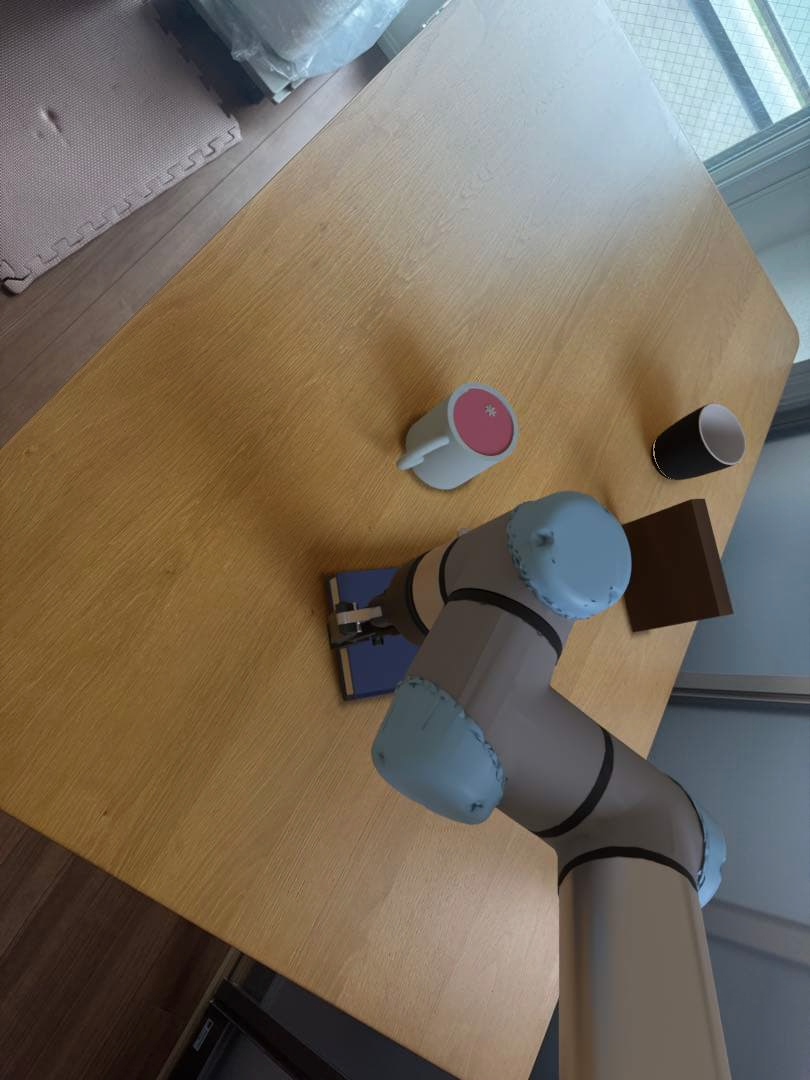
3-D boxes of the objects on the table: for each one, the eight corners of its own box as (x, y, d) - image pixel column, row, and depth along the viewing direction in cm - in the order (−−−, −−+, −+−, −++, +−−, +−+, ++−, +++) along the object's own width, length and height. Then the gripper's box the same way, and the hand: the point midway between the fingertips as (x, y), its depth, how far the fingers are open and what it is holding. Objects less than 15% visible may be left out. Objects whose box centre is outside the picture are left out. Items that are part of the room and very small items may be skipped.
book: (344, 701, 75) (355, 699, 73) (325, 578, 78) (336, 572, 75) (529, 668, 87) (544, 666, 84) (508, 562, 89) (522, 556, 86)
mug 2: (673, 500, 105) (732, 478, 96) (633, 455, 104) (689, 428, 95) (703, 450, 111) (761, 424, 102) (666, 407, 110) (722, 377, 101)
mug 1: (450, 408, 91) (494, 373, 82) (483, 475, 91) (531, 446, 82) (361, 441, 84) (400, 406, 75) (397, 513, 84) (439, 486, 75)
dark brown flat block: (632, 632, 95) (720, 615, 83) (609, 529, 98) (691, 498, 86) (645, 630, 96) (734, 613, 84) (622, 528, 99) (705, 498, 87)
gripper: (512, 541, 58) (385, 594, 78) (367, 551, 52) (269, 606, 72) (531, 634, 57) (396, 664, 77) (383, 656, 50) (279, 682, 71)
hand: (335, 636), depth 74 cm, fingers closed
